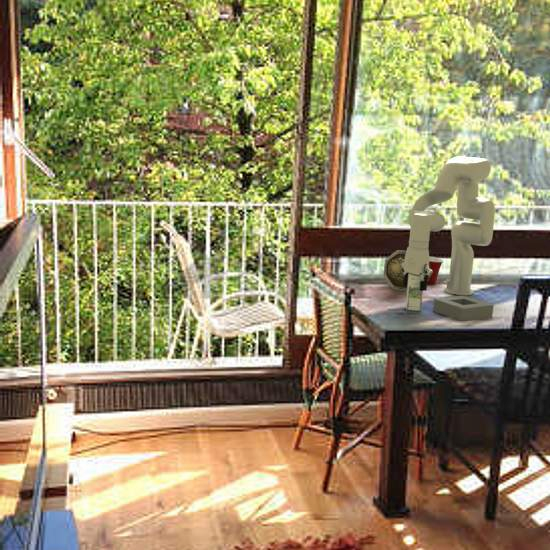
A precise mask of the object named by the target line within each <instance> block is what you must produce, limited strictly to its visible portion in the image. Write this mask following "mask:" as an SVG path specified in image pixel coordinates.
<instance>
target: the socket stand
mask: <svg viewBox="0 0 550 550" xmlns="http://www.w3.org/2000/svg"><path fill="white" fill-rule="evenodd" d="M433 300H434V301H433V309H432V311H433V312H434V311H435V313H438V314H440V315H443V316H446V317H449V318H452V319H454V320H457V321H460V322H468V321H474V320H483V319H488V318H490V319H491V318H493V316H494V315H493V314H494V304H491V303H489V302H486V301H483V300H480V299H477V298H472V297H470V296H468V295H455V296H450V297H449V296H448V297H438V298H434V299H433Z"/></svg>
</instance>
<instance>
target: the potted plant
mask: <svg viewBox="0 0 550 550" xmlns="http://www.w3.org/2000/svg"><path fill="white" fill-rule="evenodd" d="M406 251H407V250H400V249H398V250H395V251H394V252H393V253H391V255H389V256H388V257H386V258H385V260H384V265H383V278H384V280H385V281H386V283H388V286H390V287H391V288H392V289H393V290H396V291H402V290H403V292H407V285H406V286H404V285H403V281H404V275H403V271H402V266H401V263H403V262H404V260H405V255H406Z"/></svg>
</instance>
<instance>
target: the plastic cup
mask: <svg viewBox="0 0 550 550" xmlns="http://www.w3.org/2000/svg"><path fill="white" fill-rule="evenodd" d="M443 262H444V259H442V258H439V257H435V256H429V268H430V269H431V270H432V271H433V273H432V275H431V277H430V278H429V280H428V281H427V285H433V286H434V285H436V283H437V279H438V276H439V273H440V269H441V266H442V264H443ZM424 277H425V276H424Z"/></svg>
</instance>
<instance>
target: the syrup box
mask: <svg viewBox="0 0 550 550" xmlns="http://www.w3.org/2000/svg"><path fill="white" fill-rule="evenodd" d="M423 276H424V275H423ZM420 281H422V280H421V277H420V275H415V274H411V273H409V274H408V285H407V291H406V298H405V310H406V311H409V312H411V311H412V312H422V311H421V310H422V303H423V293H424V291H420V290H419V289H420Z"/></svg>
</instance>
